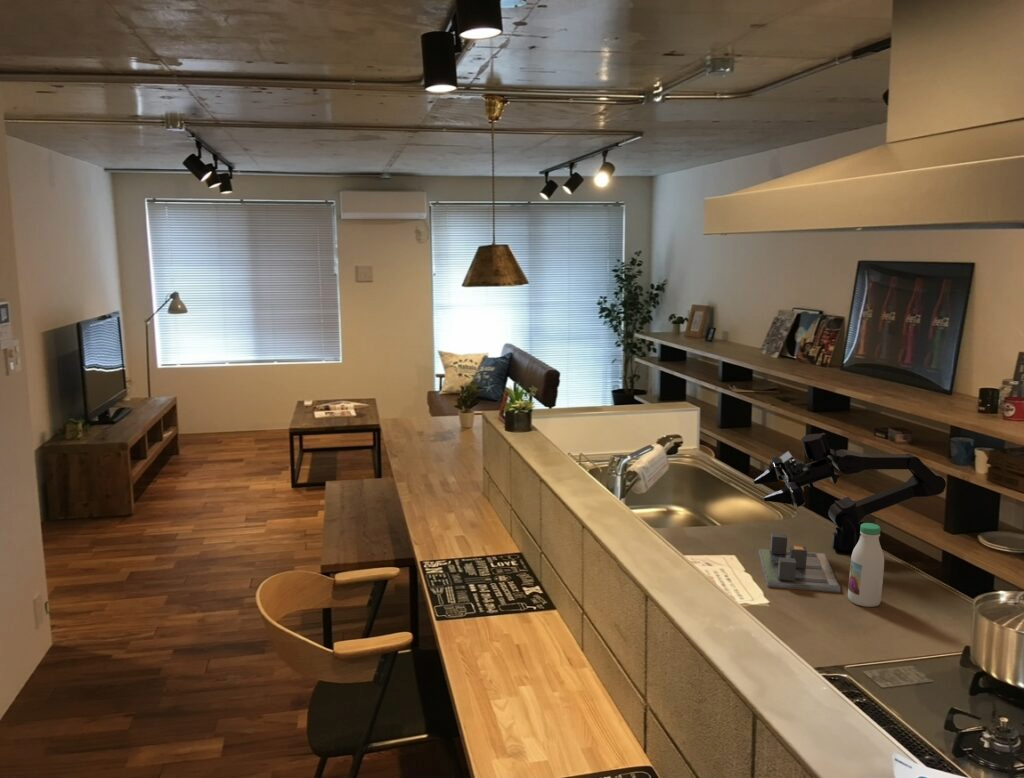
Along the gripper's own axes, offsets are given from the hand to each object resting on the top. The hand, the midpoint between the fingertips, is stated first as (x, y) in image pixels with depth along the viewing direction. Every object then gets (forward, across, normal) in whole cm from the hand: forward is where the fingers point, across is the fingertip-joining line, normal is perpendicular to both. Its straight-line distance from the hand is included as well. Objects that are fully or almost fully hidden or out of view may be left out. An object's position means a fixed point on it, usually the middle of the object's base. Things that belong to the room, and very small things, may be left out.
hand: (758, 490), depth 241 cm
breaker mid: (-1, +19, +13) cm, 24 cm away
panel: (-1, +20, +15) cm, 25 cm away
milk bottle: (-11, +38, +15) cm, 42 cm away
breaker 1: (+1, +10, +15) cm, 18 cm away
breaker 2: (+4, +27, +10) cm, 29 cm away
